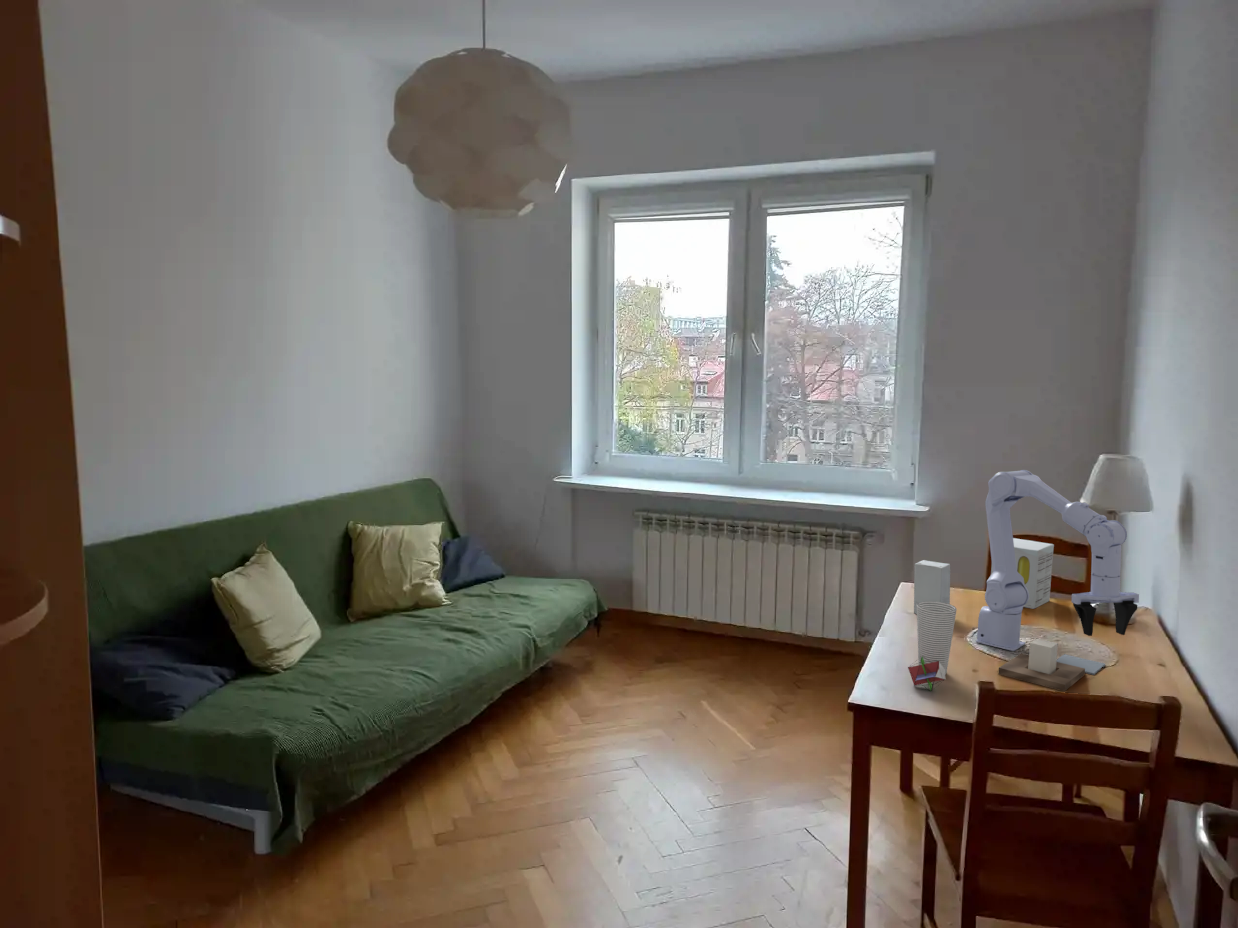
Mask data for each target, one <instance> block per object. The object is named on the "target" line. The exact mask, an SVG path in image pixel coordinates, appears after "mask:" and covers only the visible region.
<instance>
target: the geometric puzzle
mask: <svg viewBox="0 0 1238 928" xmlns="http://www.w3.org/2000/svg"><path fill="white" fill-rule="evenodd" d="M924 658H925V656H924ZM927 658H928V657H927ZM930 659H931V658H930ZM927 660H928V659H927ZM916 661H918V659H916V660H915V662H916ZM927 662H931V663H928V664H925V662H924V660H923V657H921V661H920V662H919V663H921V664H922V665H918V664H917V665H916V663H913V665H912V664H910V665H909V666H907V669H908V672H909V674H910V678H911V681H912V683H913V687H918V686H920V685H921V686H923V687H925V686H924V685H925V684H927V685H928V687H929V689H927V688H926V687H925V688H926V689H924V690H926V691H929V692H930V693H932V691H933V690H935V688H936V687H934V688H933V686H934V685H936V684H937V683H938V684H939V685H940V684H941V683H942V682H944V681H945V680H947V678H946V674H945V669H944V668H943V666H942V665H941V663H940V662H939V661H937V662H935V661H929V660H928V661H927ZM934 682H935V683H934Z"/></svg>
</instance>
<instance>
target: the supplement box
mask: <svg viewBox="0 0 1238 928" xmlns="http://www.w3.org/2000/svg"><path fill="white" fill-rule="evenodd" d="M1013 542H1014V551H1015V560H1016V569H1017V572H1018V573H1019V574H1020V575H1021V576H1022V577H1023V578H1024V584H1025V586H1026V588H1027V590H1028V592H1029V600H1028V602H1027V603H1026V604H1025V605H1024V606H1023V608H1026V609H1037V608H1039V607H1040V606H1043V605H1044V604H1047V603H1048V602H1050V600H1051V599H1050V598H1051V582H1052V572H1053V558H1054V549H1055V548H1054V547H1055V544H1053V543H1048V542H1041V541H1036V540H1029V539H1022V538H1021V539H1020V538H1016V537H1013ZM992 573H993V568H992V566H991V570H990V575H991V574H992Z"/></svg>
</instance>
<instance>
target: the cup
mask: <svg viewBox="0 0 1238 928" xmlns="http://www.w3.org/2000/svg"><path fill="white" fill-rule="evenodd" d="M956 614H957V608H956V606H955V605H952V604H951V603H950V604H947V603H943V602H936V601H923V602H919V603H918V604H917V614H916V626H917V629H916V631H917V661H918V662H917V666H918V665H922V664H921V663H919V662H920V661H921V657H923V660H924V662H925V664H928V663H931V662H927V661H928V660H929V661H935V662H937V661H939V662H940V663H941V665H942V666H943V668H944V669H945V675H946V674H947V673H948V667H949V661H950V653H951V647H952V642H953V641H952V640H953V635H954V629H955V622H956ZM924 656H925V658H924ZM927 657H928V658H927ZM930 658H931V659H930ZM927 659H928V660H927Z"/></svg>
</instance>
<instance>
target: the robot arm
mask: <svg viewBox="0 0 1238 928" xmlns="http://www.w3.org/2000/svg"><path fill="white" fill-rule="evenodd" d="M1024 497H1032V498H1034V499H1036V500H1037V501H1039V502H1041V503H1042V504H1044V505H1046V506H1048V507H1049V508H1051V509H1053V510H1054V511H1056V512H1058V513H1059V514H1061V520H1062V521H1063V522H1064V523H1065V524H1067V525H1069V526H1070V527H1071V528H1073V529H1074V530H1076V531H1077V532H1079V533H1080V534H1082V535H1083V536H1085V537H1086V540H1087V542H1088V544H1089V546H1090V551H1091V569H1090V570H1091V571H1090V572H1091V573H1090V574H1091V575H1090V591H1089V592H1088V591H1087V592H1080V593H1072V594H1071V603H1072V606H1073V607H1074V609H1075V612H1077V615H1078V619H1079V621H1080V624H1081V626H1082V631H1083V634H1084V635H1085V636H1088V637H1092V636H1093V634H1094V621H1095V619H1094V618H1095V614H1096V611H1097V608H1096V607H1095V606H1093V604H1106V603H1108V604H1109V603H1112V604H1113V607H1114V615H1115V633H1116V634H1119V635H1121V636H1125V635H1126V631H1127V628H1128V626H1129V623H1130V620H1131V619H1132V617H1133V615H1134V614H1135V613H1136V611H1138V604H1136V603H1139V602H1140V594H1139V593H1137V592H1129V591H1128V592H1127V591H1125V592H1123V591H1121V573H1122V572H1121V571H1122V570H1121V568H1122V567H1121V566H1122V545H1123V544H1125V542H1126V540H1127V537H1128V531H1127V529H1126V527H1125V525H1123V524H1122V523H1121V522H1120V521H1119V520H1114V519H1113V520H1111V519H1110V520H1108V518H1107V516H1106V515H1105V514H1100V513H1098V512H1096V511H1094V510H1093V509H1092V508H1090V507H1089V506H1090V504H1088V502H1081V501H1074V502H1071V501H1070V500H1068V499H1067V498H1066V497H1064V496H1063V495H1061V493H1059V492H1057V491H1056V490H1055V489H1054V488H1052V487H1051V486H1049V485H1048V484H1046V483H1045V482H1044V481H1043V480H1041V478H1040V476H1039V475H1036V474H1033V473H1032V472H1031V471H1029V470H1027V469H1021V470H1013V471H999V472H997V473H995V474H994V475H993V476H992V477H991V478H990V479H989V480H988V493H987V496H986V499H985V502H984V503H985V504H984V505H985V513H986V522H987V523H986V524H987V530H988V531H987V532H988V540H989V541H988V542H989V548H990V557H991V558H990V559H991V567H992V568H993V573H992V574H991V573H990V576H989V577H988V579H987V580H986V591H985V593H984V600H985V603H986V605H983V606H982V607H981V609H980V611H979V613H978V619H977V620H978V621H977V635H976V640H975V643H977V644H983V645H985V646H986V645H987V646H991V647H995V648H1000V649H1003V650H1007V651H1011V652H1015V651H1017V650H1019V648H1022V647H1023V646H1024V645H1025V644H1026V641H1021V640H1020V639H1021V637H1020V636H1021V624H1022V613H1023V610H1024V607H1023V606H1024V605H1025V604H1026V603H1027V602H1028V600H1029V592H1028V590H1027V588H1026V586H1025V584H1024V578H1023V577H1022V576H1021V575H1020V574H1019V573H1018V572H1017V569H1016V560H1015V551H1014V542H1013V538H1014V534H1013V527H1012V515H1011V508H1012V507H1013V506H1014V505H1015V504H1016V503H1017V502H1018V501H1019V500H1022V498H1024Z"/></svg>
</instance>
